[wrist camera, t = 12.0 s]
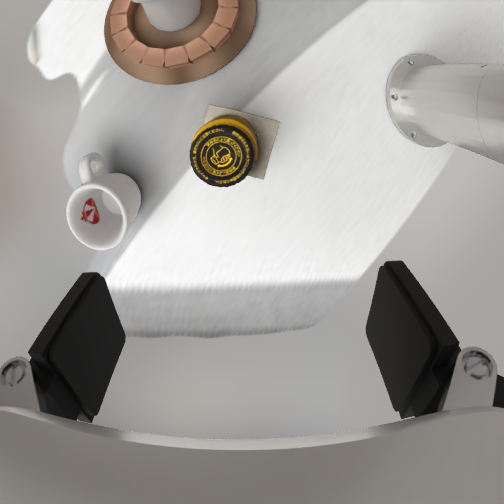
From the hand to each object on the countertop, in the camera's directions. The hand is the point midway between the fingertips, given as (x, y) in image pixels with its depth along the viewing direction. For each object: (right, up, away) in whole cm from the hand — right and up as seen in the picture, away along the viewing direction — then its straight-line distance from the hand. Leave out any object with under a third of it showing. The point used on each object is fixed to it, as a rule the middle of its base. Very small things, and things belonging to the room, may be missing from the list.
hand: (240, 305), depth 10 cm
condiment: (-1, +15, +24) cm, 28 cm away
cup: (-17, +10, +26) cm, 33 cm away
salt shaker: (-8, +28, +15) cm, 33 cm away
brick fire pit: (-8, +29, +16) cm, 34 cm away
